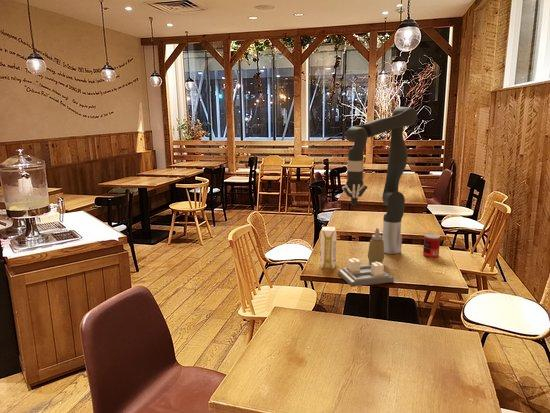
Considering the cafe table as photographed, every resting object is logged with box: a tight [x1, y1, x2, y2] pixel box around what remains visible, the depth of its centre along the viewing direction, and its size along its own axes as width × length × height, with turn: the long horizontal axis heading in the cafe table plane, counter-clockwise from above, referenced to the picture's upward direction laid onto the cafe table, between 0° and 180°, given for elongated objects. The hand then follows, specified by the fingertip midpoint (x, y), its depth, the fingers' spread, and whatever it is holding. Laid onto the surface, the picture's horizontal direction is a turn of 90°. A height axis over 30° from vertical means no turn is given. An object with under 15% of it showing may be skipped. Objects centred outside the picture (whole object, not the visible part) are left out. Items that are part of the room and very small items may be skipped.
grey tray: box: [337, 264, 395, 288], centre depth 188 cm, size 20×15×3 cm
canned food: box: [422, 233, 441, 259], centre depth 215 cm, size 8×8×11 cm
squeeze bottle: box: [367, 227, 385, 265], centre depth 204 cm, size 8×8×18 cm
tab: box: [370, 261, 385, 276], centre depth 185 cm, size 4×4×6 cm
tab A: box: [347, 257, 361, 272], centre depth 190 cm, size 4×4×6 cm
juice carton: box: [319, 226, 337, 270], centre depth 201 cm, size 8×9×19 cm
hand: (353, 205), depth 203 cm, fingers closed
